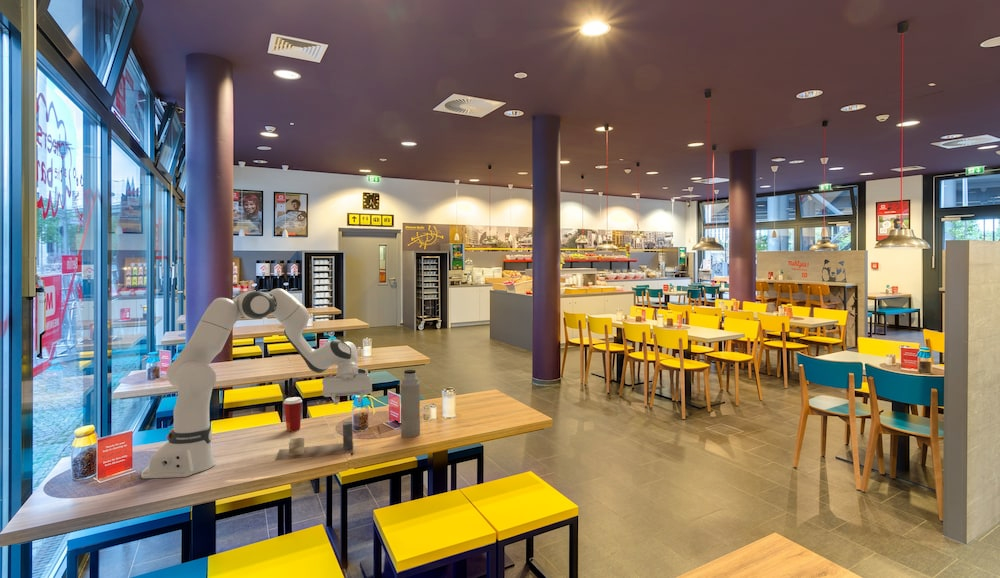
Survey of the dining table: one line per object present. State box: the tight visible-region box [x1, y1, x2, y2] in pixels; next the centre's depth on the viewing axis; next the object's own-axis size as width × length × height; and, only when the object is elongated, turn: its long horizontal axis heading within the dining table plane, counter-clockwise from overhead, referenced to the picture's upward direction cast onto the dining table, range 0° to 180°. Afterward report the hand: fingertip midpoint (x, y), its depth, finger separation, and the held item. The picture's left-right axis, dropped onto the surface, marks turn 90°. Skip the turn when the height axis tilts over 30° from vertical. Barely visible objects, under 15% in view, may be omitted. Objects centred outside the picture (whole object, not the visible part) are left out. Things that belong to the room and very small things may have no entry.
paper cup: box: [283, 396, 303, 432], centre depth 224 cm, size 8×8×14 cm
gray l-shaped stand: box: [274, 421, 354, 461], centre depth 195 cm, size 28×12×11 cm, turn 106°
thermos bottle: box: [400, 369, 421, 438], centre depth 217 cm, size 8×8×28 cm
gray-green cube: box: [288, 437, 305, 456], centre depth 193 cm, size 5×5×5 cm
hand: (347, 403), depth 209 cm, fingers open, 8 cm apart
